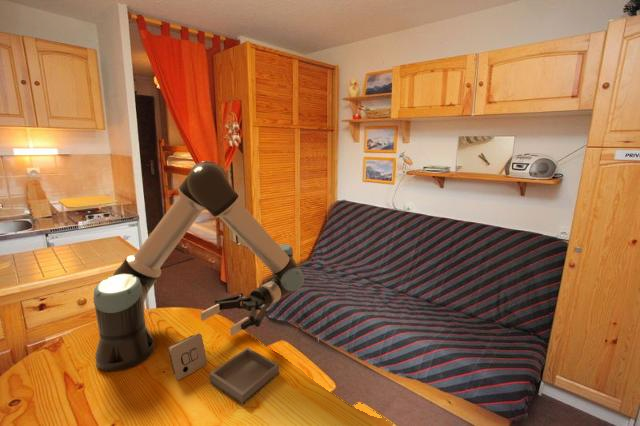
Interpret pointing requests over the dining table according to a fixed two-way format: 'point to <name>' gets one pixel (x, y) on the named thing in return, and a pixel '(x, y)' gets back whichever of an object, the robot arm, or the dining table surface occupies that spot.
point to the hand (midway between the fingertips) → (215, 323)
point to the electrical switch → (187, 356)
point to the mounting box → (244, 375)
